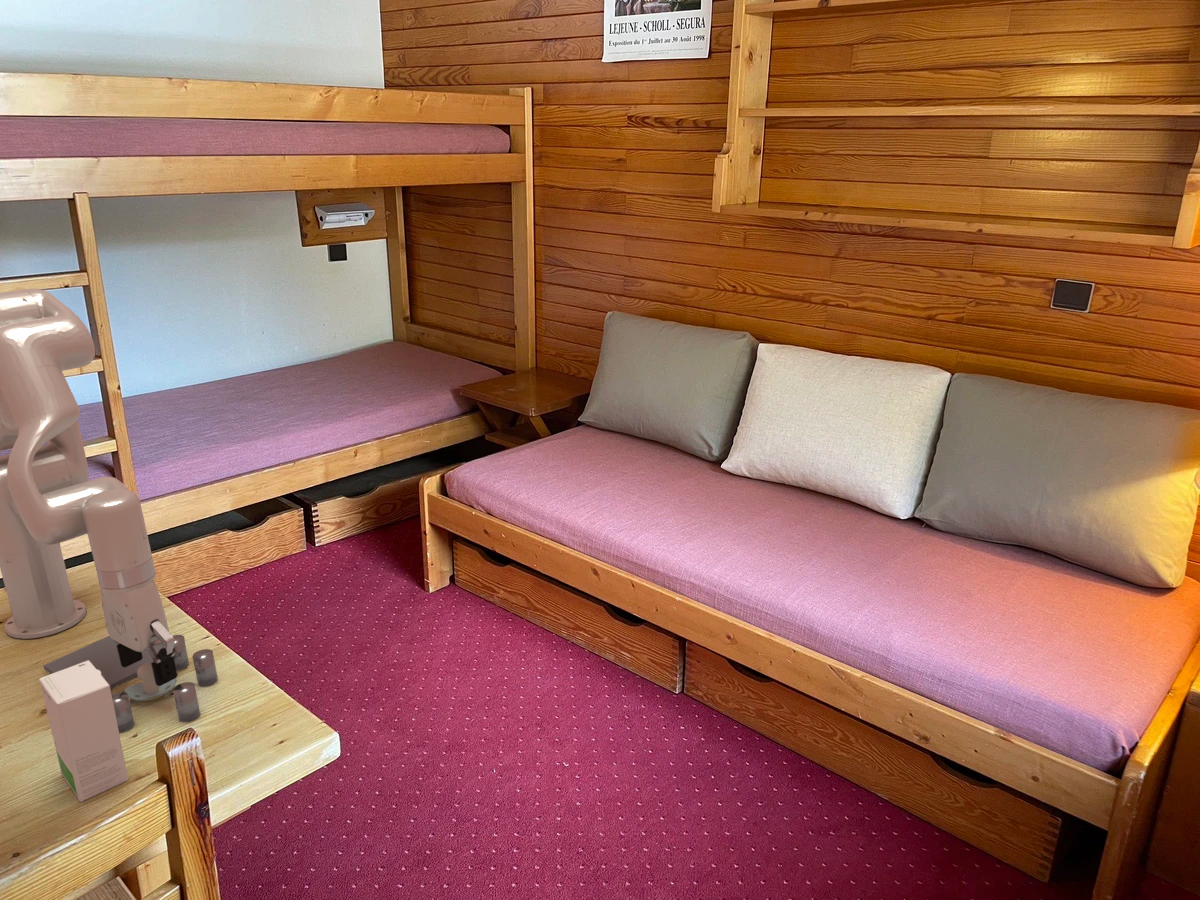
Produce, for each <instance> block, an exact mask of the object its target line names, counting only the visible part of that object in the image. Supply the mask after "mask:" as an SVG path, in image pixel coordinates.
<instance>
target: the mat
mask: <svg viewBox="0 0 1200 900" xmlns="http://www.w3.org/2000/svg"><path fill="white" fill-rule="evenodd" d="M156 640H158V638H157V637H155V638H153V639H151V642H154V641H156ZM151 642H150V643H151ZM118 644H119V643H118ZM118 644H116V643H115V641H114V640H113V639H112V638H111V637H110V636H109V635H107V636H106V637H105V636H104V637H103V638H101V639H99V640H97V641H95V642H92V643H90V644H87V645H86V646H83V647H81V648H79V649H77V650H75V651H72V652H70V653H68V654H66V655H63V656H60V657H59V658H57V659H54V660H52V661H50V662H48V663H45V664H42V665H43V670H44V671H46V672H47V671H48V672H47V673H49V674H50V673H51V674H53V673H55V672H58V671H61V670H64V669H66V668H69V667H72V666H74V665H77V664H80V663H82V662H85V661H88V660H89V661H90V662H91V663H92V665H93V666H94V667H95V668H96V669H97V670H99V671H101V675H102V676H103V678H104V679H105V680H106V682H107V683H108V684H109V685H110V690H111V691H112V690H113V689H114V688H117V687H119V686H121V685H122V684H125V683H127V682H129V681H131V680H133V679H136V678H137V677H138V675H137V670H138V668H139V667H140V666H141V665H143V664H145V663H152V662H154V661H153V659H152V658H151V656H150V654H149V653H148V651H147V649H145V650H144V651H143V652H142V656H143V658H142V660H140V661H138V662H136V663H134V664H132V665H130V666H127V667H125V668H124V667H122V666H121V662H120V658H119V654H118V650H117V646H116V645H118ZM154 649H155V651H156V652H157V654H158V652H159V651H160V649H162V645H161V644H159V645H157V646H155V647H154Z"/></svg>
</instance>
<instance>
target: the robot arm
mask: <svg viewBox="0 0 1200 900" xmlns="http://www.w3.org/2000/svg"><path fill="white" fill-rule="evenodd" d="M95 353H96V349H95V344H94V340H93V337H92V335H91V332H90V331H89V329H88V327H87V326H86V325H85V323H84V322H83V321H82V319H81V318H80V317H79V316H78V315H77V314H76V313H75V312H74V311H73V310H72V309H71V308H69V307H68V306H67V305H66V304H64V303H63V302H62V301H60V300H59V299H58V297H57V298H56V297H55V296H54V295H53V294H51V293H50V292H48V291H47V290H45V289H40V288H28V289H26V288H25V289H17V290H11V291H4V292H3V291H2V292H0V452H1V451H2V452H3V451H7V450H10V449H11V450H10V451H11V452H10V453H9V454H6V455H2V456H0V573H1V576H2V580H3V585H4V588H5V591H6V595H7V598H8V602H9V606H10V609H11V614H12V615H11V616H10V617H9V618H8V619H7V620H6V622H5V623H4V624H5V625H4V628H5V632H6V634H7V635H8V636H10V637H12V638H16V639H20V638H21V639H23V640H25V639H26V640H28V639H29V640H30V639H38V638H43V637H48V636H52V635H54V634H57V633H61V632H63V631H66V630H67V629H69V628H72V627H73V626H75V625H77V623H79V622H80V621H81V620H83V618H84V617H85V615H86V613H87V609H86V605H85V603H83V602H82V601H81V600H78V599H74V598H73V593H72V588H71V585H70V581H69V576H68V572H67V568H66V564H65V560H64V559H65V558H64V556H63V551H62V547H61V543H64V542H67V541H71V540H73V539H76V538H78V537H81V536H84V535H87V538H88V542H89V546H90V551H91V554H92V558H93V562H94V566H95V570H96V575H97V578H98V579H97V580H98V584H99V587H100V596H101V597H100V598H101V606H102V612H103V616H104V622H105V623H104V624H105V626H106V627H105V628H106V632H107V636H110V637H111V638H112V639H113V640H114V641H115V643H116V644H118V643H119V644H118V645H116V646H117V650H118V654H119V658H120V662H121V666H122V667H124V668H125V667H127V666H130V665H132V664H134V663H136V662H138V661H140V660H142V658H143V656H142V652H143V651H144V650H145V649H147V651H148V653H149V654H150V656H151V658H152V659H153V661H154V662H152V663H151V665H152V670H153V674H154V678H155V683H156V685H157V686H161V685H163V684H165V683H167V682H169V681H171V680H173V679H175V678H176V677H177V678H178V673H177V672H178V671H176V666H175V661H174V657H173V656H174V651H175V648H174V644H175V639H174V638H173V635H172V634H171V632H170V630H169V626H168V620H167V616H166V613H165V609H164V606H163V601H162V598H161V595H160V592H159V589H158V586H157V585H156V581H155V579H156V577H157V574H156V573H157V571H156V568H155V563H154V558H153V555H152V550H151V545H150V542H149V541H150V540H149V536H148V532H147V527H146V523H145V517H144V512H143V507H142V503H141V500H140V497H139V496H138V494H137V493H136V492H134V491H132V490H129V489H128V487H127V486H126V485H125V483H123V482H122V481H120V480H119V479H117V478H116V477H113V476H103V477H98V478H94V479H89V478H90V473H89V467H88V466H89V465H88V460H87V456H86V452H85V451H86V450H85V446H84V442H83V438H82V437H83V436H82V433H81V428H80V423H79V418H80V416H81V409H80V406H79V404H78V401H77V400H76V398H75V396H74V394H73V392H72V389H71V388H70V385H69V383H68V380H66V377H65V375H64V372H63V371H68V370H73V369H79V368H84V367H86V366H89V365H90V364H91V363H92V362H93V360H94V359H95V355H96V354H95ZM155 637H157V638H158V640H156V641H154V642H151V639H153V638H155ZM150 642H151V643H150ZM159 644H161V645H162V649H160V651H159V652H158V654H157V652H156V651H155V649H154V647H155V646H157V645H159Z"/></svg>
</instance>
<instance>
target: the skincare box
mask: <svg viewBox="0 0 1200 900" xmlns="http://www.w3.org/2000/svg"><path fill="white" fill-rule="evenodd" d="M38 680H39V683H40V686H41V692H42V696H43V700H44V704H45V710H46V713H47V718H48V722H49V726H50V730H51V734H52V739H53V742H54V747H55V751H56V756H57V760H58V763H59V768H60V774H61V775H62V777H63V778H64V780H65V782H66V783H67V784H68V786H69V787H70V789H71V791H73V794H75V796H76V798H77V799H78V802H80V803H82V802H84V801H87V800H88V799H91V798H93V797H95V796H97V795H100V794H102V793H104V792H106V791H108V790H110V789H113V788H115V787H117V786H119V785H121V784H123V783H126V782H127V781H129V775H128V770H127V765H126V761H125V757H124V755H125V754H124V750H123V746H122V745H123V744H122V740H121V736H120V733H119V730H118V725H117V720H116V715H115V710H114V705H113V700H112V695H111V694H112V689H111V690H110V685H109V684H108V683H107V682H106V680H105V679H104V678H103V676H102V675H101V671H99V670H97V669H96V668H95V667H94V666H93V665H92V663H91V662H90V661H89V660H88V661H85V662H82V663H80V664H77V665H74V666H72V667H69V668H66V669H64V670H61V671H58V672H55V673H53V674H50V673H49V674H48V675H44V676H42V677H41V678H39V679H38Z"/></svg>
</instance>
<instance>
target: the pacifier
mask: <svg viewBox="0 0 1200 900" xmlns="http://www.w3.org/2000/svg"><path fill="white" fill-rule="evenodd" d="M137 675H138V676H137V677H138V678H139V679H140V680H141V682H139V683H135V684H131V685H129V686H126V688H125V689H124V692H126V693H128V696H129V699H131V700H134V701H142V702H143V701H144V702H146V701H153V700H156V699H159V698H162V697H163V696H164V695H166V694H167V693H169V692H170V691H172V690H173V688H174V687H175V686H176V683H177V680H178V676H177V677H176V678H175V679H173V680H171V681H169V682H167V683H165V684H163V685H161V686H157V685H156V683H155V678H154V674H153V670H152V665H151V663H145V664H143V665H141V666H140V667H139V668H138V670H137Z"/></svg>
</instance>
